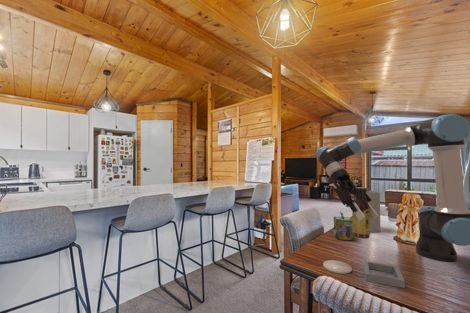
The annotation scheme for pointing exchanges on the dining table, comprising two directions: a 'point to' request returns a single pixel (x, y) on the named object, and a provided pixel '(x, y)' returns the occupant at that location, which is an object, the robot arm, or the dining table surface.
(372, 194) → the cylinder vase
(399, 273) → the pocket frame
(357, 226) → the sauce bottle
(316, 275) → the dining table surface
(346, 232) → the chalk box
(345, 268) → the coaster
